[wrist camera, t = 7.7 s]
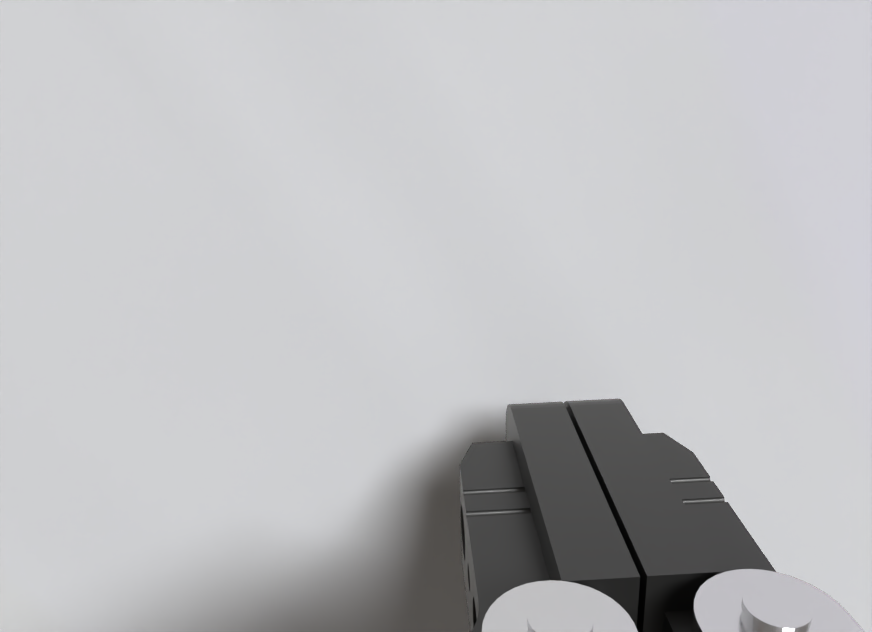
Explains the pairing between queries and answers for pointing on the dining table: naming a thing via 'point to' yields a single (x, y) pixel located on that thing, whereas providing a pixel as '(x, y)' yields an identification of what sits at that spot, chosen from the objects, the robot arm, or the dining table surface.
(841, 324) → the dining table surface
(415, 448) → the dining table surface
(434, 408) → the dining table surface
